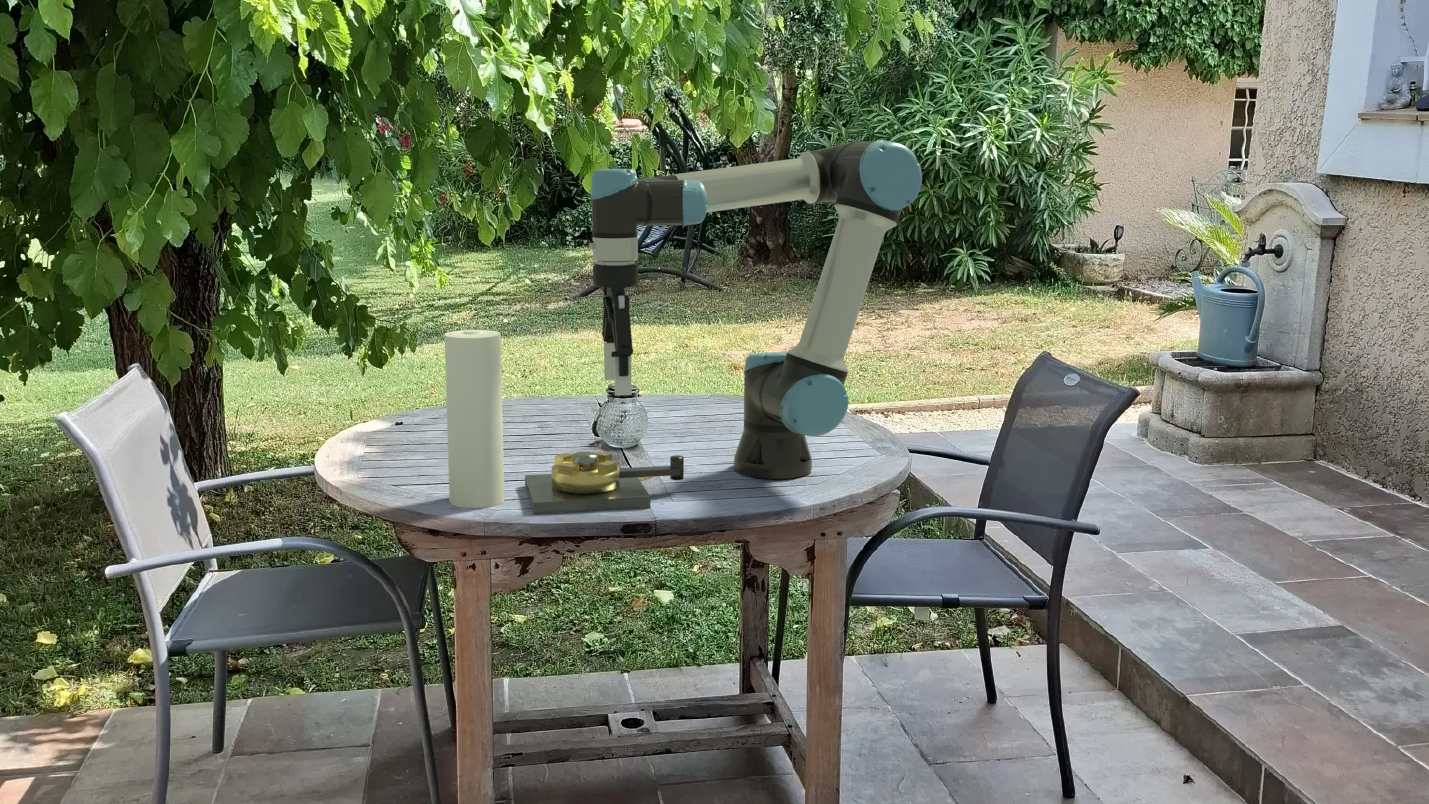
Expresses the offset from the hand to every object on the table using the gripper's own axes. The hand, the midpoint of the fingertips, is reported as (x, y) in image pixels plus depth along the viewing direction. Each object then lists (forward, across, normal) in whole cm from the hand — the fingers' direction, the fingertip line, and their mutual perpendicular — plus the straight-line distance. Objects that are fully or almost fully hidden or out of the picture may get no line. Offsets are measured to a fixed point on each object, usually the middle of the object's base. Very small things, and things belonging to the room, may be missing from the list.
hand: (617, 387), depth 209 cm
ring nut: (+19, -6, +1) cm, 19 cm away
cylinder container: (+21, -6, -24) cm, 32 cm away
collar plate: (+21, -7, -3) cm, 22 cm away
